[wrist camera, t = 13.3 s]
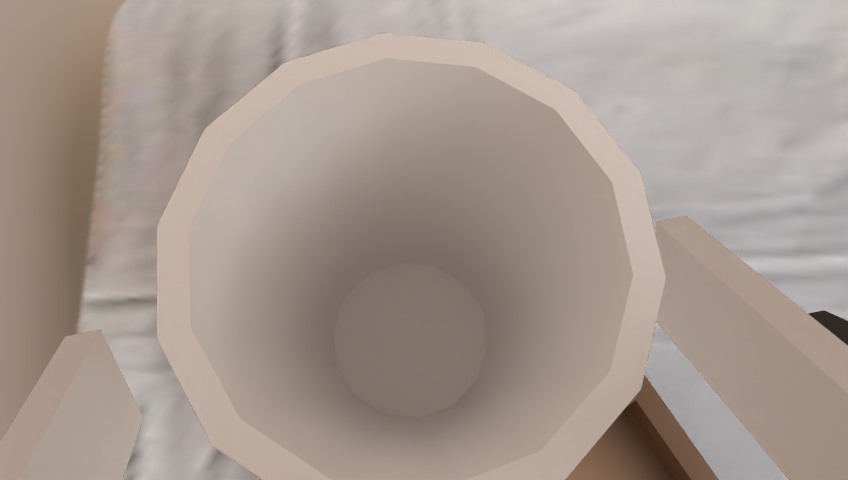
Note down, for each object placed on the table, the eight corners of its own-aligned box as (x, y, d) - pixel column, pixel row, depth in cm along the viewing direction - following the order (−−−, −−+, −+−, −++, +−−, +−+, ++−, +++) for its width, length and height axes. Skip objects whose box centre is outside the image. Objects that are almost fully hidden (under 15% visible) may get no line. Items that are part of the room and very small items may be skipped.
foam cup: (241, 377, 23) (43, 330, 11) (372, 186, 25) (336, -36, 13) (454, 517, 22) (513, 650, 9) (571, 302, 24) (743, 180, 12)
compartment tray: (457, 146, 27) (462, 117, 24) (826, 679, 22) (886, 716, 19) (196, 294, 25) (170, 280, 22) (531, 929, 19) (550, 1012, 17)
